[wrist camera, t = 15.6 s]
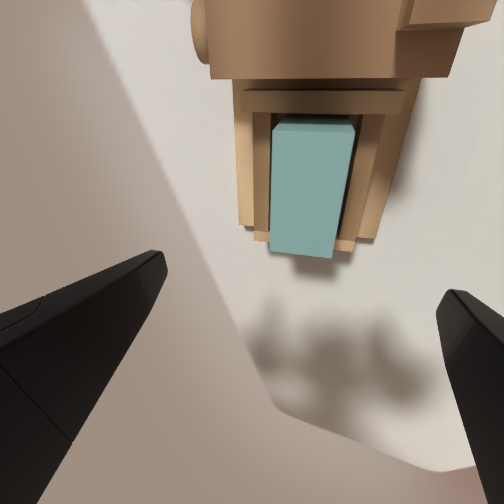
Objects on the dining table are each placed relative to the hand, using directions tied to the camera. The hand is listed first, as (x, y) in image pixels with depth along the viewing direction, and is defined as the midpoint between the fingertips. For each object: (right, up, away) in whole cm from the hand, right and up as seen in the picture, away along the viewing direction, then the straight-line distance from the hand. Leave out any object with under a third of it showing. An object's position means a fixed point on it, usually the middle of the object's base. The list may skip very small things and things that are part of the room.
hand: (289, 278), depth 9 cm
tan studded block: (+3, +12, +5) cm, 13 cm away
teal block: (+3, +6, +9) cm, 11 cm away
